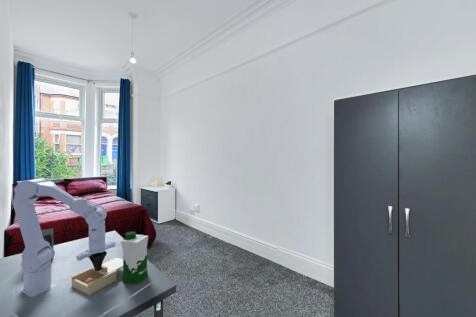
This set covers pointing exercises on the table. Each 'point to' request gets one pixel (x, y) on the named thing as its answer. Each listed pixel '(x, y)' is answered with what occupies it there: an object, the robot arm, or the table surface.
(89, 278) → the ball
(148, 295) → the table surface
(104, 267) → the lid
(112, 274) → the box
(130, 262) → the milk carton
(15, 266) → the table surface
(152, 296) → the table surface
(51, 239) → the tampon box
